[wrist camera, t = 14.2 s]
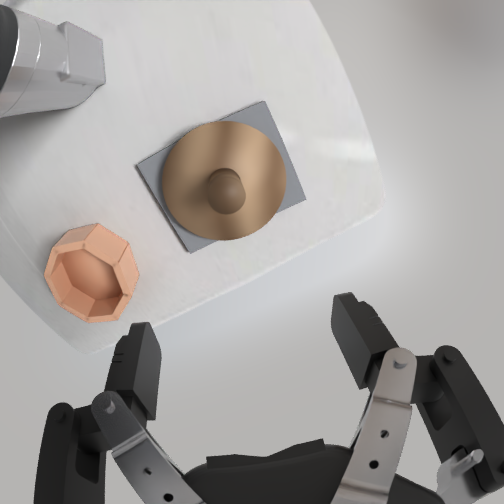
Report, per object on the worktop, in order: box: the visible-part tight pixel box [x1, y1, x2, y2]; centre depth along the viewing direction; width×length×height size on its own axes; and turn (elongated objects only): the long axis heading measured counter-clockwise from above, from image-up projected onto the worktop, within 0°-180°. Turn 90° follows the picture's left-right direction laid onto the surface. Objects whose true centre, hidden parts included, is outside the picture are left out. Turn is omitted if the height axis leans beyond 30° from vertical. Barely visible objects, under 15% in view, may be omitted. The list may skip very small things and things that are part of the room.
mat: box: [137, 101, 306, 254], centre depth 32 cm, size 16×13×1 cm
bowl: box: [44, 223, 139, 323], centre depth 33 cm, size 12×12×5 cm
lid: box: [162, 121, 286, 240], centre depth 29 cm, size 14×14×6 cm
